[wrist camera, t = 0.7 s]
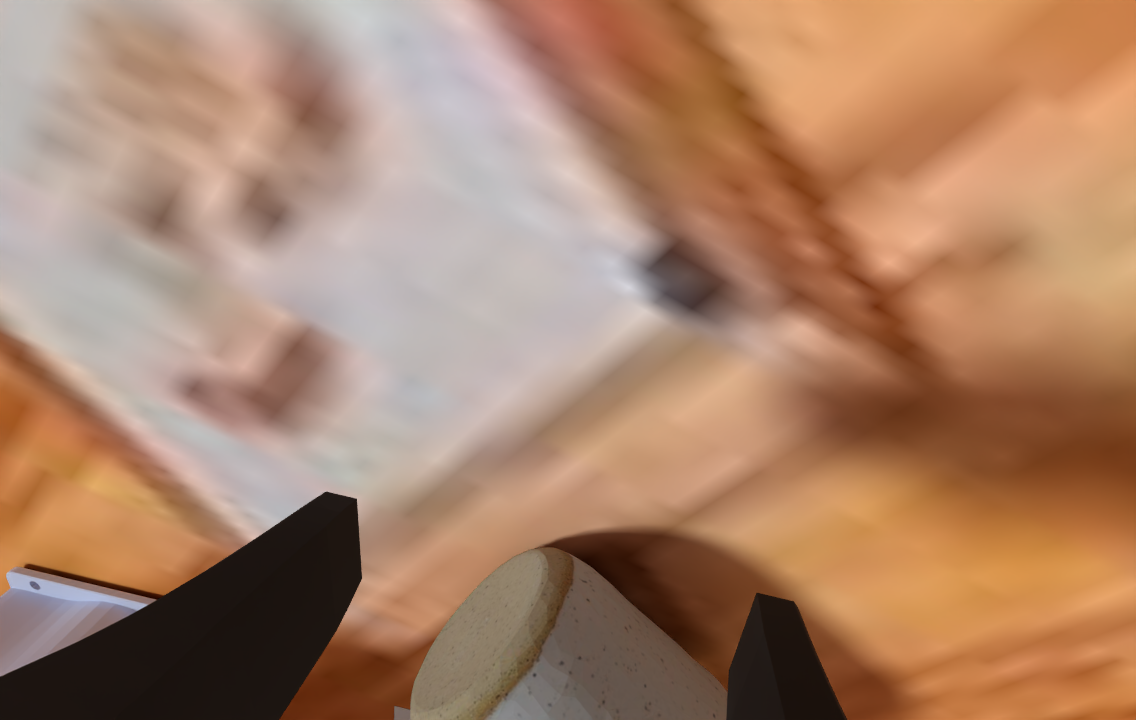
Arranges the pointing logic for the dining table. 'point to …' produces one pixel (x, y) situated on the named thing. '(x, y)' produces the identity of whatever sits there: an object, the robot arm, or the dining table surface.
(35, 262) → the dining table surface
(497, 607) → the ceramic mug
